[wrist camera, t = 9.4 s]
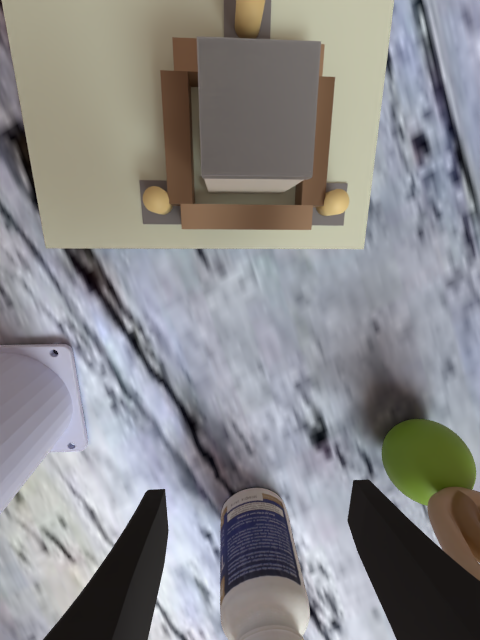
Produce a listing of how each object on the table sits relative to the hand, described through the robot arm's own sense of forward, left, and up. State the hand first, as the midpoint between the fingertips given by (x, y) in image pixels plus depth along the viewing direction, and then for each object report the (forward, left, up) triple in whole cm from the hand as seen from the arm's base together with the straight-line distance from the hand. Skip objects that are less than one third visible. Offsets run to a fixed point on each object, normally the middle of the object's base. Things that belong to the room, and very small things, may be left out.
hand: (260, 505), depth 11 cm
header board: (-2, +15, -10) cm, 18 cm away
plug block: (0, +14, -9) cm, 16 cm away
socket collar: (0, +14, -9) cm, 16 cm away
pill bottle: (+1, -12, -10) cm, 16 cm away
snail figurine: (+12, -5, -10) cm, 16 cm away
